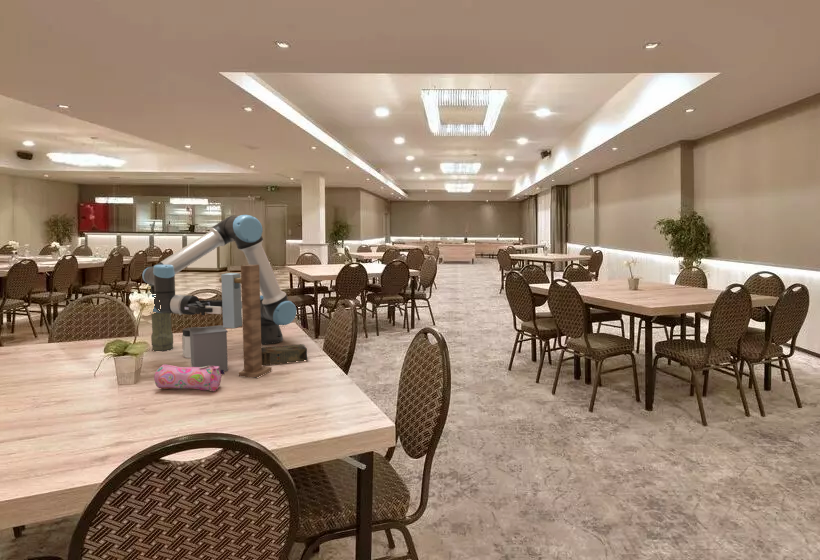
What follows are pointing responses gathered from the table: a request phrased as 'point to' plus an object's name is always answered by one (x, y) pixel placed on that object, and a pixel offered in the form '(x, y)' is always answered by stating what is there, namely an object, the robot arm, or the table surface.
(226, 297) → the grey tall block
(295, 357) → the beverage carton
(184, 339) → the jar
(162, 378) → the pencil case
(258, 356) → the walnut stand
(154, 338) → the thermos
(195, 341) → the lidded box
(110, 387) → the table surface
